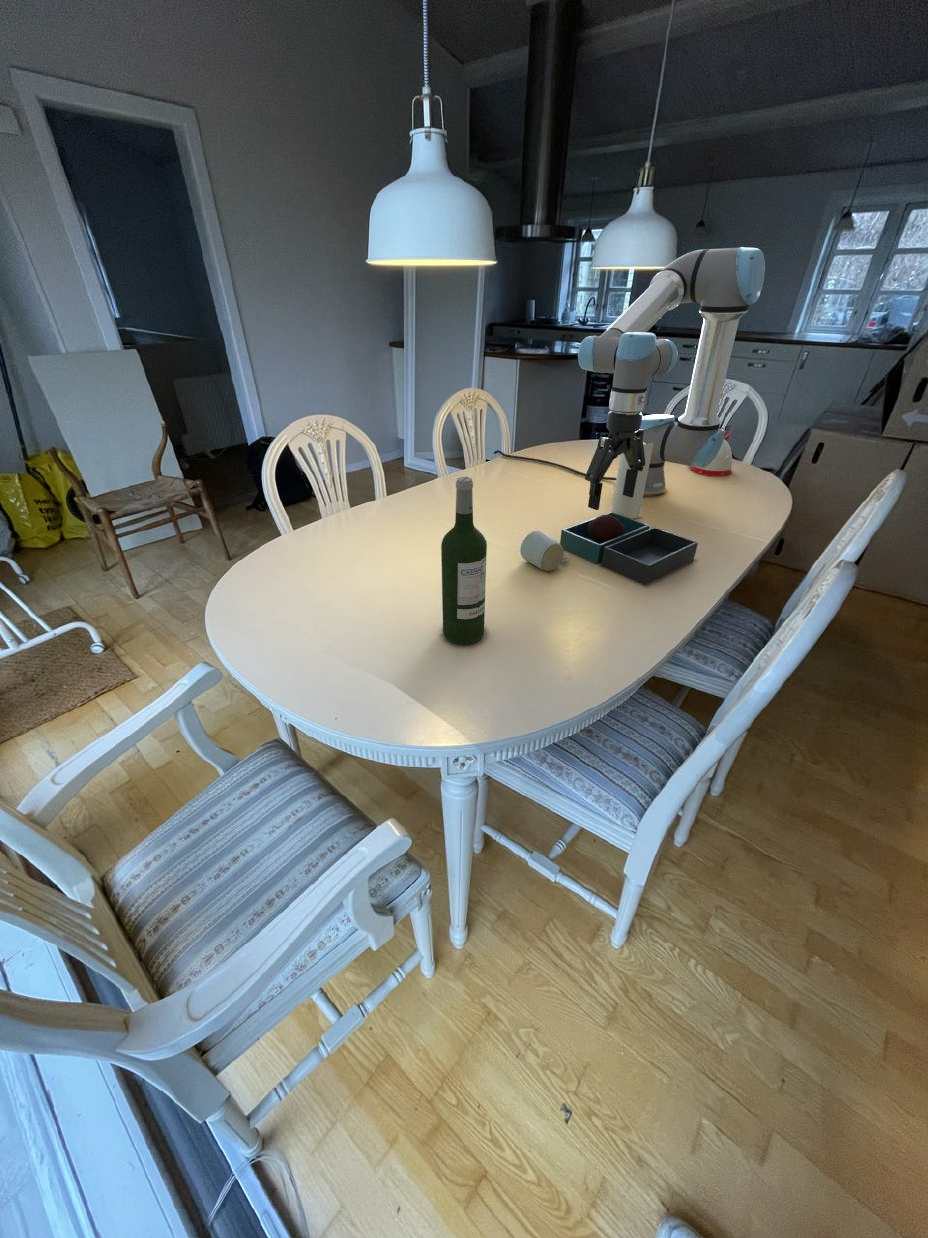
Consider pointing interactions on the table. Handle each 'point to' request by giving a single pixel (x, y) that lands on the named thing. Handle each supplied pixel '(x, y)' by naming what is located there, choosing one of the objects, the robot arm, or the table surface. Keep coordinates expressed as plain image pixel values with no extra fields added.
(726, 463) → the kitchen timer
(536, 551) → the ceramic mug
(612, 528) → the potato
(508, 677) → the table surface
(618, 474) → the paper towel roll
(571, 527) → the left tote
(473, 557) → the wine bottle
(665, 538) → the box
